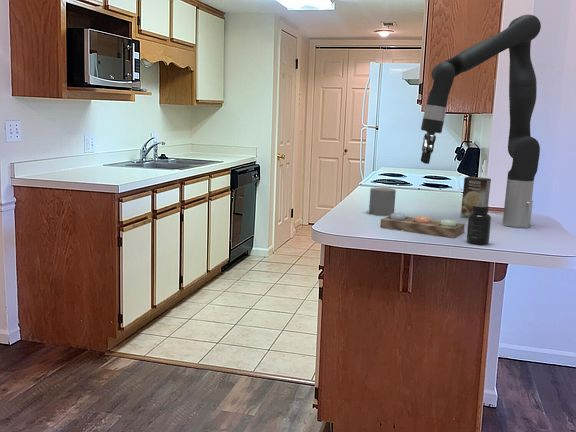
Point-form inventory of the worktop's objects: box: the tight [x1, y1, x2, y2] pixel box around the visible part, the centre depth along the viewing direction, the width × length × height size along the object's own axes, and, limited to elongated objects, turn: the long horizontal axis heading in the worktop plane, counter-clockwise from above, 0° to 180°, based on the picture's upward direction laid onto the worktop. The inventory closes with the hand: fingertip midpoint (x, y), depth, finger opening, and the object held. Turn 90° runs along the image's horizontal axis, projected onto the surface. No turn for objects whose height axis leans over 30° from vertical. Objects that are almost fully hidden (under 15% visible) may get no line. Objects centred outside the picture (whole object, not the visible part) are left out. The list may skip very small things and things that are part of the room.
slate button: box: [391, 212, 406, 220], centre depth 205 cm, size 5×5×3 cm
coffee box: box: [460, 175, 492, 219], centre depth 229 cm, size 9×6×16 cm
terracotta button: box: [415, 215, 431, 224], centre depth 201 cm, size 5×5×3 cm
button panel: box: [379, 215, 466, 239], centre depth 201 cm, size 26×12×3 cm, turn 58°
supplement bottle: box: [466, 205, 492, 246], centre depth 183 cm, size 7×7×12 cm
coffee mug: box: [368, 186, 397, 217], centre depth 233 cm, size 13×10×10 cm
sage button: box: [440, 218, 457, 227], centre depth 196 cm, size 5×5×3 cm
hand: (424, 162), depth 213 cm, fingers open, 8 cm apart
